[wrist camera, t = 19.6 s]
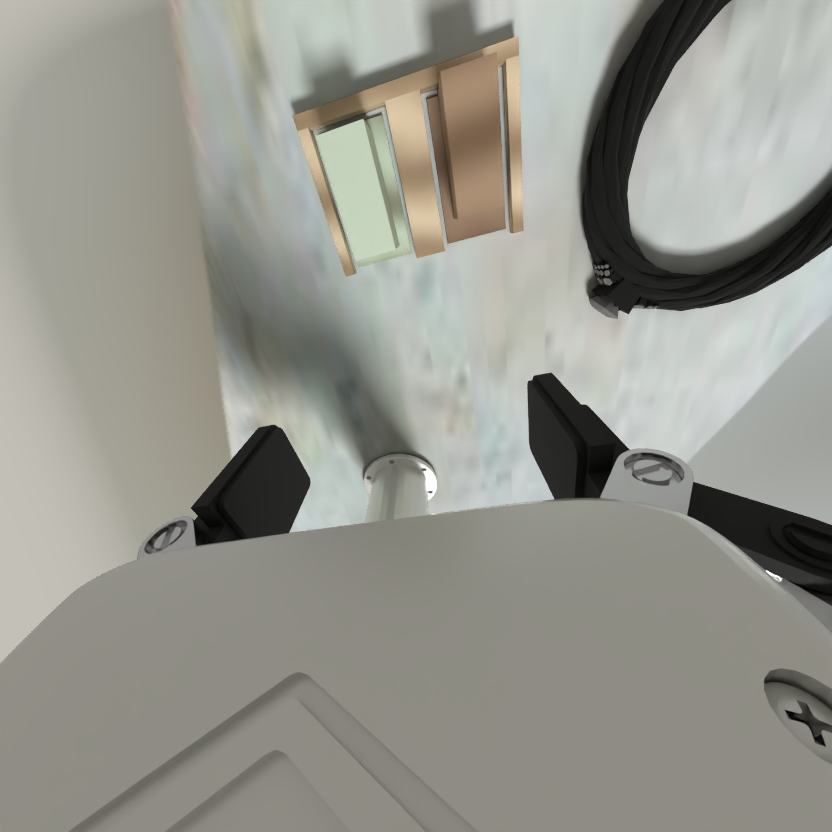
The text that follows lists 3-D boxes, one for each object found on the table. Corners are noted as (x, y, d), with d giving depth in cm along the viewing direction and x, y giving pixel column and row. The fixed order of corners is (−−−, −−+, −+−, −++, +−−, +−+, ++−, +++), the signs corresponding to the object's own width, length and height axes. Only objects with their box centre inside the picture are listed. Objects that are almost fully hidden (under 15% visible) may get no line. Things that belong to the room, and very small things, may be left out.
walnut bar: (493, 208, 30) (504, 206, 25) (453, 218, 30) (458, 219, 26) (484, 79, 25) (497, 51, 20) (437, 95, 25) (440, 71, 21)
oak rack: (520, 230, 31) (523, 230, 30) (348, 274, 33) (345, 276, 32) (514, 43, 24) (518, 35, 23) (297, 119, 26) (292, 115, 25)
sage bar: (399, 245, 32) (395, 249, 27) (364, 255, 32) (355, 261, 28) (372, 133, 27) (363, 118, 23) (331, 148, 27) (315, 136, 23)
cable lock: (1092, 48, 21) (687, 375, 36) (1004, 70, 24) (666, 362, 39) (942, -411, 14) (510, 240, 28) (843, -292, 17) (501, 238, 31)
